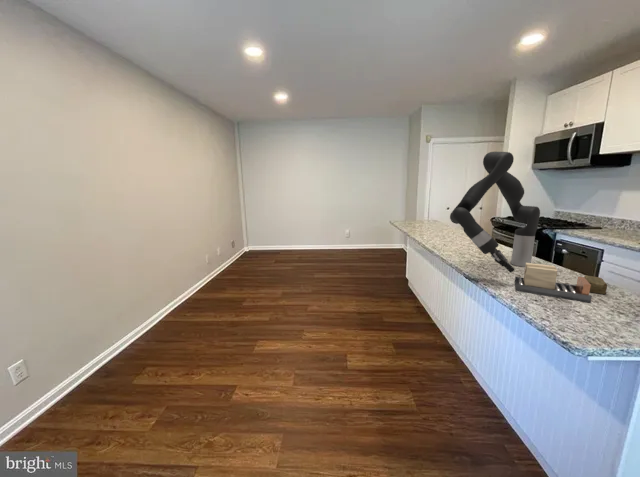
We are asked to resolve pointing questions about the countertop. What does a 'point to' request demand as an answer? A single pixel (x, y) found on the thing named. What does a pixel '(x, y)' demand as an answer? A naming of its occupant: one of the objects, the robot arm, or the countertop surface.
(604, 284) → the stone block
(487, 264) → the countertop surface
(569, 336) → the countertop surface
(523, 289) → the roller track
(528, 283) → the birch slab
